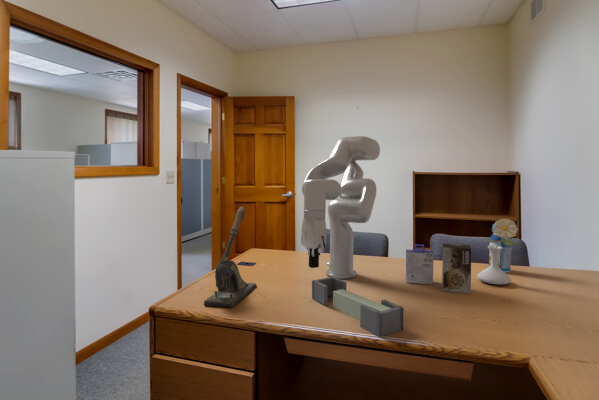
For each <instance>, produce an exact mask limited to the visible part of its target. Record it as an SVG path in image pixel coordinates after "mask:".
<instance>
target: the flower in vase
mask: <svg viewBox="0 0 599 400" xmlns="http://www.w3.org/2000/svg"><path fill="white" fill-rule="evenodd" d="M493 224H494V227H493V230H494V232H493V233H496V234H495V235H496V236H499V237H503V239H504V240H503V239H502V240H501V242H502V241H503V243H504V244H505V245H511V246H512V245H513V246H514V245H516V243H515V242H514V241H513V239H512V238H514V237H516V235H517V233H518V231H519V227H517V224H516V222H515V221H513V220H511V219H508V218H500V219H499V220H495V223H493ZM509 237H510V238H511V239H512V240H510V239H508V238H509ZM487 238H488V240H489V241H492V242H495V243H497V242H496V241H493V240H491V239H490V237H487ZM501 242H500V243H501ZM500 243H499V244H500ZM497 244H498V243H497ZM499 244H498V245H499ZM498 245H497V246H489V245H488V246H487V248H488V249H489V252H490V253H491V264H490V266H489V265H488V267H487V268H484V269H483V270H481V271H480V272H478V273H477V275H476V277H477V279H478V280H479V281H480V282H484V283H485V284H491V285H496V286H497V285H499V286H500V285H507V284H509V283H511V281H512V279H511V277H510V276H509V275H508V273H505V272H503V271H502V270H501V269H500V268H499V266H498V255H499V252H500V251H501V249H502V247H499V246H498Z"/></svg>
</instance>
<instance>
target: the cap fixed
mask: <svg viewBox="0 0 599 400" xmlns="http://www.w3.org/2000/svg"><path fill="white" fill-rule="evenodd" d="M380 304H382V305H385V306H387V307H390V308H392V309H388V310H384V311H381V312H379V311H376V310H374V309H372V308H370V307H368V306H366V305H364V304H363V305H361V309H360V320H359V322H360V323H359V326H360V328H363V329H364V330H366V331H367V332H369V333H371V334H372V335H374V336H376V337H377V338H380V337H383V336H386V335H391V334H393V333H396V332H399V331H403V330H404V313H405V312H404V311H405V309H404V307H403V306H401V305H398V304H396V303H394V302H391V301H389V300H387V299H385V298H384V299H381V301H380Z"/></svg>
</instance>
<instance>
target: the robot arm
mask: <svg viewBox="0 0 599 400" xmlns="http://www.w3.org/2000/svg"><path fill="white" fill-rule="evenodd" d="M380 153H381V147H380V144H379V142H378V141H377V140H376V139H373V138H371V137H368V136H364V135H362V136H361V135H359V136H345V137H342V138H339V139H337V141H336V143H335V145H334V147H333V149H332V151H331V152H330V154H329V156H328V158H327V159H325V160H323V161H322V162H320V163H319V164H317V165H316V166H314V167H313V168H311V169H310V170H309V172H307V175H306V176H305V179H304V180H303V182H302V186H301V193H302V195H303V218H302V224H301V225H302V226H301V233H300V244H301V246H303V247H304V248H305V249H306V250H307V255H308V268H311V269H315V268H319V266H320V265H319V264H320V256H321V253H322V254H323V253H324V252H325V249H326V247H327V236H328V235H327V223H326V209H327V214H328V220H329V233H330V234H329V242H330V243H329V261H328V262H326V265H327V266H328V269H327V270H326V271H325V272H326V273H325V274H326V276H328V277H336V278H338V279H340V280H342V279H344V280H345V279H353V278H355V277H357V274H358V272H357V270H356V269H354V231H353V228H352V227H351V225H350V223H353V224H354V223H355V224H365V223H367V222H368V221H369V220H370V218H371V215H372V211H373V208H374V204H375V200H376V197H377V184H376V182H375V180H373V179H371V178H364V171H363V169H362V167H361V166H360V164H358V163H357V161H375V160H377V159H378V158H379V156H380ZM341 174H342V177H341V180H340V183H339V182H338V181H337V180H336V179H329V178H333V177H337V176H339V175H341ZM326 201H329V202H328V206H327V205H326ZM326 206H327V207H326Z"/></svg>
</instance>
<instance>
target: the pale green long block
mask: <svg viewBox="0 0 599 400" xmlns="http://www.w3.org/2000/svg"><path fill="white" fill-rule="evenodd" d="M363 304H364V305H366V306H368V307H370V308H372V309H374V310H376V311H379V312H381V311H384V310H388V309H392V308H390V307H387V306H385V305H382V304H381V302H380V303H379V302H377V301H374V300H371V299H370V298H367V297H364V296H361V295H359V294H356V293H354V292H351V291H349V290H347V289H346V290H344V289H340V290H337V291H333V295H332V308H333V309H335V310H337V311H339V312H341V313H343V314H345V315H348V317H349V316H350V317H352V318H354V319H356V320H358V321H360V309H361V305H363Z"/></svg>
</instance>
